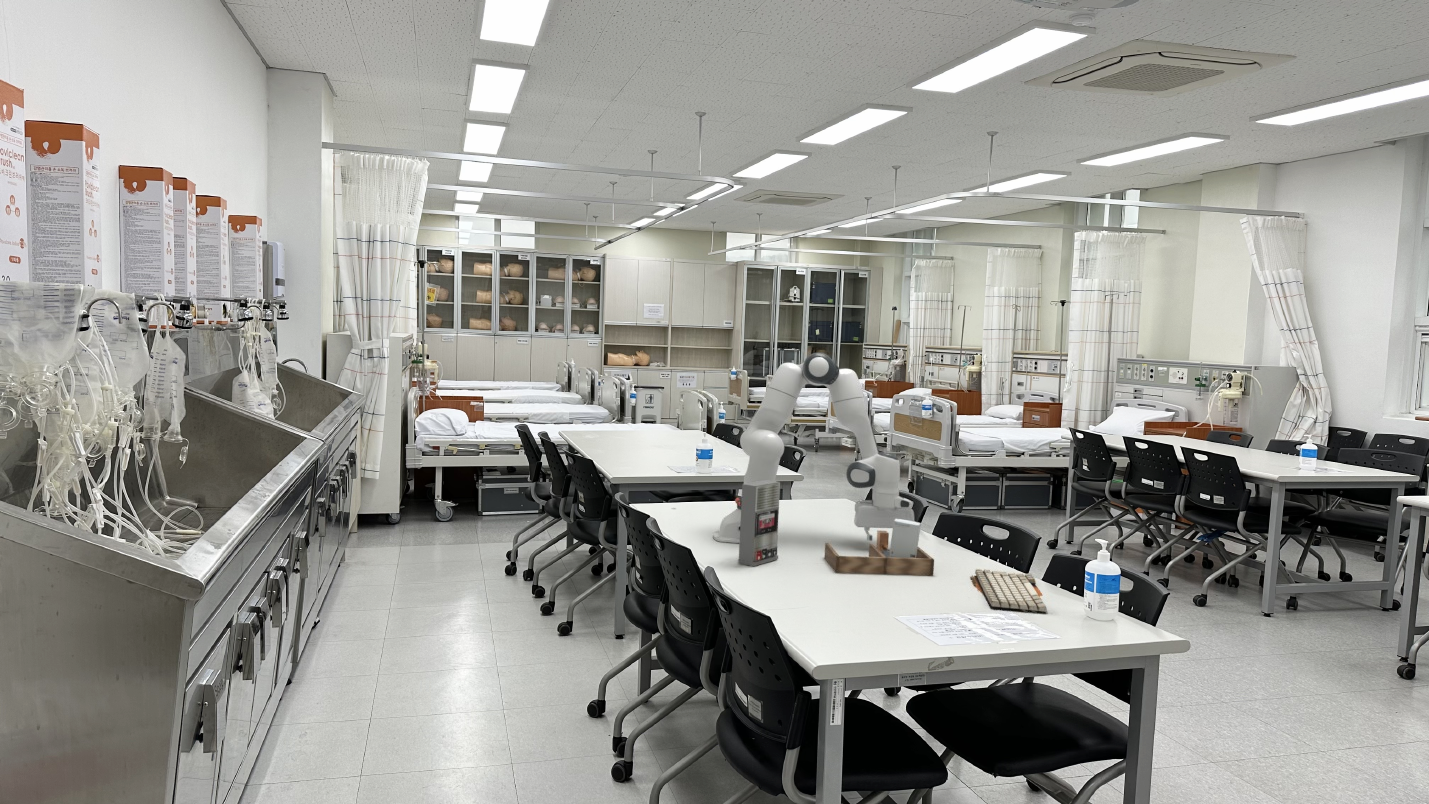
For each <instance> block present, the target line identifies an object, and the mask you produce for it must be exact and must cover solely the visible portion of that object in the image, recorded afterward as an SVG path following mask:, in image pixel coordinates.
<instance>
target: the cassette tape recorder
mask: <svg viewBox="0 0 1429 804" xmlns="http://www.w3.org/2000/svg"><path fill="white" fill-rule="evenodd" d="M780 492H781V482H780V481H777V480H776V481H770V480H764V481H758V482H752V483H746V484H744V483H742V484H741V498H742V502H741V523H740V543H738V544H739V546H738V547H739V548H738V560H737V563H738V564H740V565H746V566H750V567H753V568H754V567H756V566H760V565H762V564H767V563H770V562H772V561H776V560H779V555H778V533H779V532H778V531H779V514H780V494H781V493H780Z"/></svg>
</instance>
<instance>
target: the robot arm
mask: <svg viewBox="0 0 1429 804" xmlns="http://www.w3.org/2000/svg"><path fill="white" fill-rule="evenodd" d="M805 386H811V387H822V386H825V387H826V388H827V389H828V391H829V394H830V398H831V402H832V409H833V412H834V415H835V418H836V420H837V421H838V423H840V424H841V425H843V426H844V427H846V428H848V429H849V430H850V431H851V432H852V433H853V434H854V436H855V438H856V441H857V444H858V447H859V448H858V449H859V453H860V454H861V459H860V460H856V461H853V462H851V463H850V464H849V465H848V467H847V469H846V474H845V475H846V479H847V482H848V483H849V484H850V486H851V487H853V488H855V489H866V488H871V489H872V499H865V500H864V499H859V500H858V501H856V502H855V504H854V511H855V513H854V520H853V523H854V525H855V526H856V527H857V528H863V529H864V532H865V534H866V541H873V535H872V534H870V532H869V531H870V529H871V528H872V529H873V528H876V529H893V524H894V520H895V519H902V520H908V521H913V522H915V512H914V510H913V509H912V507H913V502H912V501H911V500H910V499H908V498H905V497H903V496H900V490H899V484H900V480H901V479H900V477H901V467H900V466H901V464H900V461H899V458H898V456H897V455H895V454H893V453H889V452H884V451H883V452H881V451H880V450H879V447H878V444H877V439H876V436H875V432H874V429H873V426H872V423H871V420H870V417H869V414H868V410H867V406H866V402H865V398H864V392H863V388H862V386H861V382H860V380H859V377H858V375H857V373H856V372H855V370H853V369H850V368H840V367H839V366H838V365H837V364H836V363H835V361H834V360H833V359H832V358H831V357H830V356H829V355H828V354H826V353H823V352H814V353H811V354H809V355H808V356H806V358H805V359H804V361H803V362H802V363H800V364H795V363H793V362H783V363H781V364H780V365H779V367H778V368H777V370H776V371H775V373H774V374H773V376H772V378H771V380H770V382H769V384H768V387H767V389H766V392H765V393H764V397H763V398H762V400H761V404H760V406H759V408H758V410H757V411H756V413H755V415H754V416H753V418H752V419H751V421H750V422H749V424H748V425H747V428H746V429H745V430H744V431H743V432H742V434H741V436H740V438H739V443H740V447H741V449H742V451H743V452H744V453H745V454H746V455H747V456H748V458H749V459H748V465H747V467H746V472H745V473H744V476H743V484H746V483H752V482H758V481H764V480H770V481H777V473H778V470H779V465H780V462H781V461H780V460H781V458H782V456H783V454H784V452H785V444H784V441H783V440H782V438H781V437H780V435H778V434H779V433H780V431H781V430H782V428H783V427H784V426H785V424H786V423H788V421H789V419H790V417H791V415H792V413H793V410H794V408H795V406H796V403H797V401H798V398H799V395H800V393H801V391H802V389H803V388H804V387H805ZM734 502H735V504H736V509H735V510H733V511H732V512H730V513H729V514H727V515H726V516H725V517H723V519H722V520H721V522H720V525H719V530H716V531H714V532H713V535H712V538H713V539H714V540H715V541H717V542H719V543H720V542H721V543H733V544H740V523H741V502H742V497H741V498H740V497H736V498H735V499H734Z"/></svg>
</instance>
